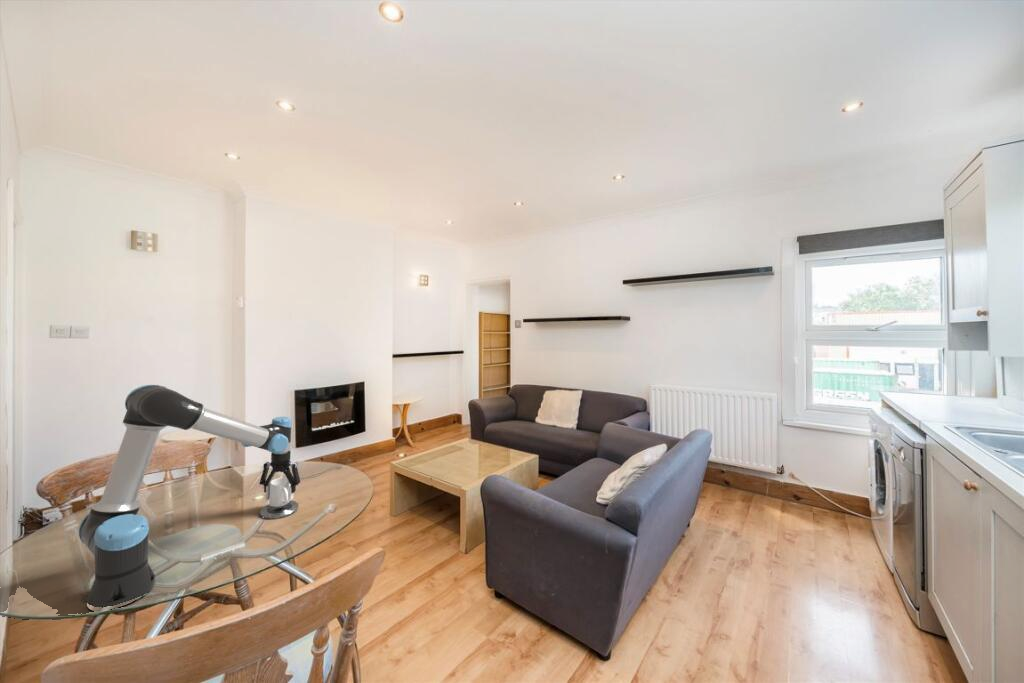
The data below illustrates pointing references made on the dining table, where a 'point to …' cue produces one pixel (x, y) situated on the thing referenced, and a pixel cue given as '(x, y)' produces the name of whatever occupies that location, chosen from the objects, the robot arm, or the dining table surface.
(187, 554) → the dining table surface
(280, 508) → the metal plate
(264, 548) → the dining table surface
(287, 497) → the mug
